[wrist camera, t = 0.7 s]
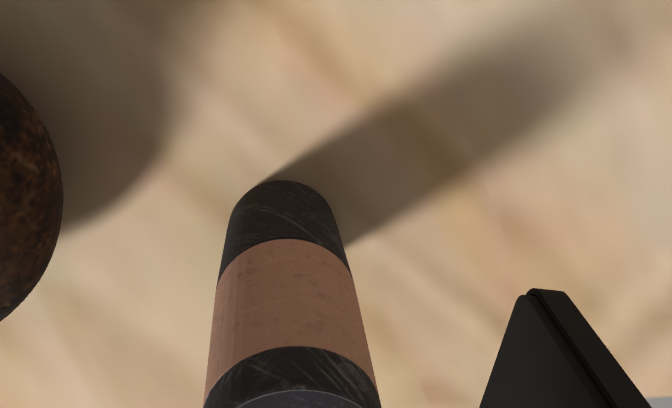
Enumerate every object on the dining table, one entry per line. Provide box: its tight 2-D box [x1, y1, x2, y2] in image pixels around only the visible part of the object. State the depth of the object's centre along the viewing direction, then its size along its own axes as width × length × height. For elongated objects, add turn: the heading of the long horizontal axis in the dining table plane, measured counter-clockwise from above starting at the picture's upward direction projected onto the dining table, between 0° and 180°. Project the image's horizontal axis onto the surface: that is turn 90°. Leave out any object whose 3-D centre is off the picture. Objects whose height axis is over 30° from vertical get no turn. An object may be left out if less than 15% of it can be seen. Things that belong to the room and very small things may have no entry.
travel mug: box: [203, 181, 381, 408], centre depth 34 cm, size 8×8×20 cm
